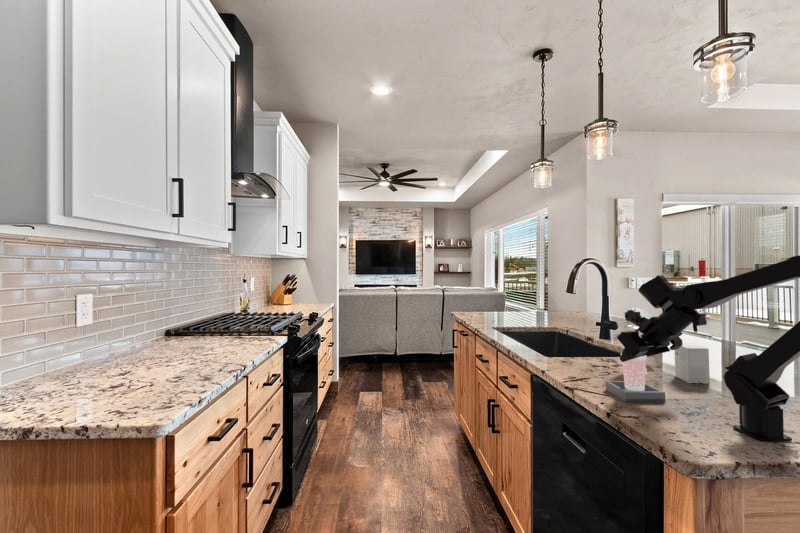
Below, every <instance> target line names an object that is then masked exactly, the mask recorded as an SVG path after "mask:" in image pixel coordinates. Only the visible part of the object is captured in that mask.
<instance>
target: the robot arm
mask: <svg viewBox="0 0 800 533" xmlns="http://www.w3.org/2000/svg"><path fill="white" fill-rule="evenodd" d="M797 279H800V255H794V256H791V257H789V258H787V259H785V260H782V261H779V262H777V263H773V264H769V265H767V266H762V267H760V268H757V269H754V270H751V271H747V272H744V273H741V274H737V275H735V276H731V277H728V278H725V279H719V280H713V281H712V280H711V281H705V282H700V283H699V282H698V283H693V284H687V285H686V286H684V287H683V288H682V289H677V288H676V287H675V286H674V285H673V284H672V283H671V282H670V281H669V280H668V279H667V278H666V277H665V276H664V275H656V276H655V277H654V278H652V279H650V280H648V281H646V282H645V283H643V284H641V286H639V288H638V293H640V295H642V297H643V298H644V299H645V300H646V301H647V302H648V303H649V304H650V305H651V306H652V307H653V309H661V310H664V311H662V313H661V314H659V315H658V316H655V315H654V314H652V313H650V312H648V311H647V310H645V309H642V308H639V307H637V308H636V307H635V308H629V309H627V311H626V312H624V319H625V321H627V322H629V323H632V324H633V325H634V326H639V328H638V330H639V331H640V332H641V333H643V334H642V335H641V337H642V338H641V337H640V336H639V335H638V334H637V333H636V332H635V331H625V332H623V331H621V332H620V333H619V334H618V335H616V336H617V337H616V339H617V341H618V342H620V344H621V345H622V346H623V350H622V352H621V353H622V354H621V353H620V357H619V360H620V362H621V363H622V362H625V361H628V360H632V359H635V358H638V357H642V356H645V355H646V356H647V358H648V357H651V356H656V355H660V354H663V353H664V354H665V353H669V352H670V351H675V350H676V349H678V348H680V347H681V346H682V343H683V340H682V338H681V336H682V335H683V333H682V332H683V331H684V330H686V328H688V327H689V326H690V325H691V324H694V325H695V326H696V327H700V326H706V325H707V324H708V323H707V319H706V318H707V314H706V313H700V312H698V311H697V310H704V309H714V308H716V307H719V306H721V305H723V304H725V303H727V302H729V301H731V300H733V299H734V298H736V297H738V296H741V295H744V294H748V293H750V292H751V293H752V292H754V291H758V290H761V289H765V288H768V287H769V288H770V287H772V286H777V285H781V284H784V283H787V282H790V281H794V280H797ZM670 345H671V346H670ZM668 346H670V347H668ZM624 347H625V348H624ZM798 358H800V320H799V321H798V322H797V323H795V324H794V325H793V326H792V327H791V328H790V329H788V330H787V331H786V332H785V333H783V334H782V335H781V336H780V337H778V339H777V340H775V341H774V342H773V343H772V344H770V345H769V346H768V347H767V348H766V349H764V350H763V351H762V352H761V353H759V354H757V353H756V352H753V353H748V354H747V353H746V354H743V355H739V356H737V358H735V360H734V361H733V363H732V364H730V365H729V366H725V367H724V369H725V370H726V371H725V373H724V375H723V381H724V384H725V386H726V387H727V389H728V390H729V391H730V392H731V395H732V397H733V398H732V399H733V400H734V401H735V404H736V405H738V406H739V407H738V409H739V410H738V412H739V424H734V425H732V428H733V429H735V430H736V431H739V432H741V433H743V434H745V435H747V436H749V437H752V438H753V439H755V440H757V441H760V442H761V441H762V442H763V441H764V442H765V441H766V442H767V441H768V442H774V441H775V442H777V441H778V442H779V441H780V442H781V441H782V442H784V441H785V442H787V441H789V442H791V441H793V437H791V436H789V435H787V434H784V432H785V431H784V428H785V427H784V409H783V408H781V406H782V405H786V404H787V403H788V401H789V399H790V395H789V393H787V392H786V391H785V390H784V389H783V388H782V387H781V386H780V385H779V384H778V383H777V382H779V380H780V379H781V377H782V375H783V373H784V371H785V370H786V368H787V367H788V366H790V364H792V363H793V362H794V361H796V360H797V359H798Z"/></svg>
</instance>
